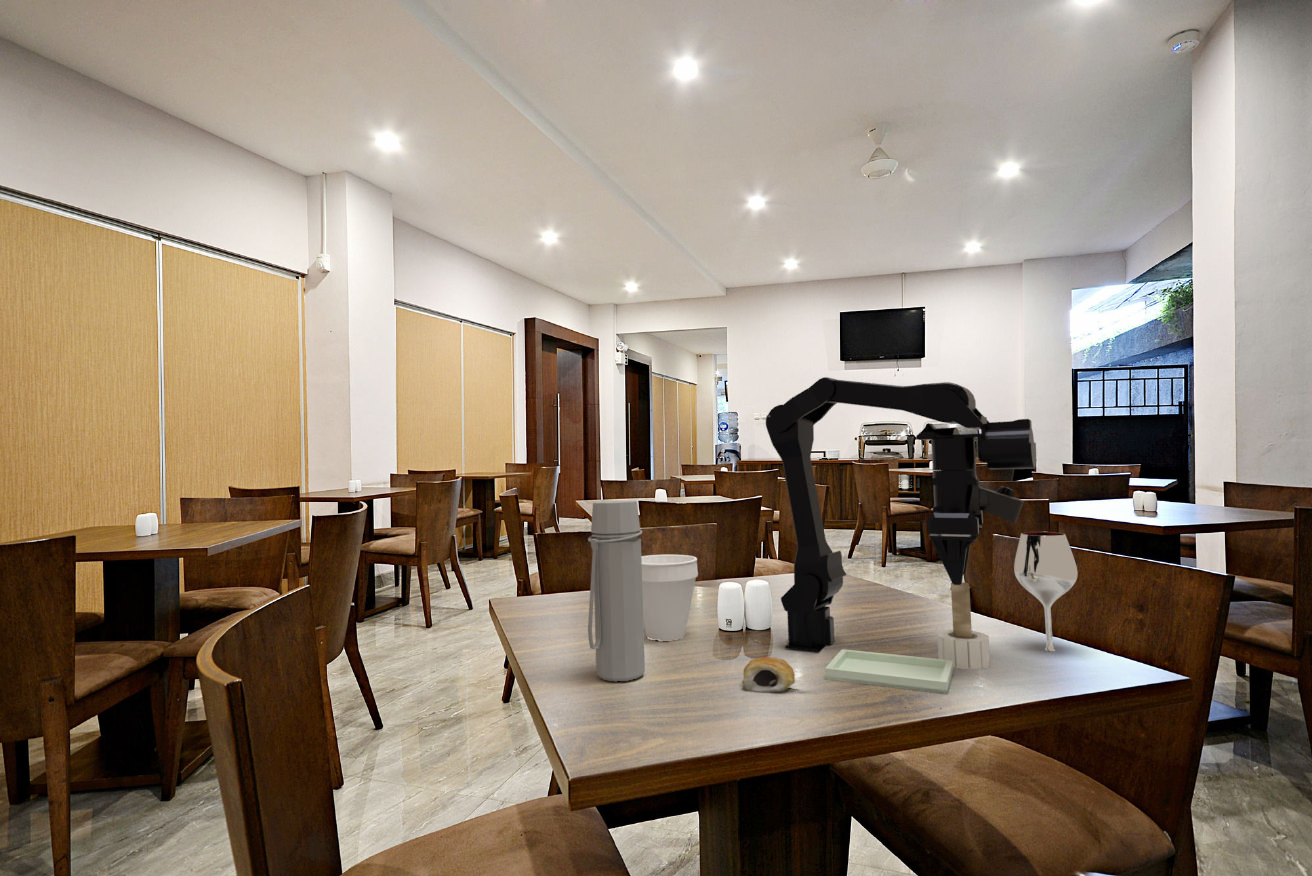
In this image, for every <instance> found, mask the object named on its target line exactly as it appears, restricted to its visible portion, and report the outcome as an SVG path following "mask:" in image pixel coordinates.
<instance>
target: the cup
mask: <svg viewBox="0 0 1312 876" xmlns="http://www.w3.org/2000/svg"><path fill="white" fill-rule="evenodd" d="M641 559H642V591H643V623H644V635H645V637H646V636H647V637H649V638H652V639H660V640H674V639H680V638H682V637H684V636H685V637H686V633H687V632H686V631H687V626H688V622H689V616H690V610H691V606H692V599H693V595H694V589H695V584H696V578H697V577H699V571H698V562H697V561H698V558H697V557H696V556H694V555H687V554H649V555H641ZM685 637H684V638H685ZM680 640H681V639H680Z"/></svg>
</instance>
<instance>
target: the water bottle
mask: <svg viewBox="0 0 1312 876" xmlns="http://www.w3.org/2000/svg"><path fill="white" fill-rule="evenodd" d="M639 516H640V515H639V509H638V501H637V500H610V501H609V500H606V501H596V502H594V501H593V502H592V512H591V524H590V525H591V528H590V530H591V531H590V533H592V534H591V535H590V536H589V537H588V538H587V540H588V542H589V543H590V545H591V547H590V548H591V550H592V557H591V558H592V560H591V573H590V574H591V575H590V590H589V592H590V593H589V606H588V607H589V608H588V622H587V623H588V625H587V635H588V643H589V648H590V649H592V650H595V663H596V664H595V671H596V673H595V674H596V675H597V677H599V678H601V679H602V680H605V681H606V680H607V681H608V682H612V681H614V682H613V683H618V682H617V681H626V682H630V681H629V680H631V681H634V680H633V679H635V680H636V679H638V678H640V677H642V676H643V675H644V673H645V672H646V671H645V670H646V663H645V662H646V661H645V660H646V659H645V657H646V656H645V630H644V623H643V591H642V559H641V556H642V539H641V538H639V536H641V535H642V534H643V530H642V529H641V525H640V518H639ZM593 616H594V617H593ZM593 619H594V634H595V636H594V637H595V639H594V638H593ZM593 639H594V640H595V643H594V640H593ZM607 681H606V682H607Z"/></svg>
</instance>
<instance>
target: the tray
mask: <svg viewBox="0 0 1312 876" xmlns="http://www.w3.org/2000/svg"><path fill="white" fill-rule="evenodd" d="M954 669H955V667H953V660H945V659H938V658H934V657H933V658H932V657H923V656H922V657H921V656H915V655H914V656H913V655H902V654H894V653H882V652H872V651H862V650H855V649H854V650H852V649H843V648H842V649H841V650H840V651H839V652H838V653H837V654H836V655H835V656H834V658H832V659H831V661H830V662H829V663H828V664H827V666H826V667H825V668H824V678H825V679H824V680H827V681H828V680H829V681H836V682H842V683H843V682H844V683H852V684H862V685H868V686H877V687H883V688H884V687H885V688H893V689H901V690H909V691H911V690H912V691H918V692H926V693H927V692H928V693H933V694H935V693H936V694H942V695H948V694H949V691H950V690H949V689H950V686H951V683H952V679H953V676H954V672H955V670H954Z"/></svg>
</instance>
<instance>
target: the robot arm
mask: <svg viewBox="0 0 1312 876" xmlns="http://www.w3.org/2000/svg"><path fill="white" fill-rule="evenodd" d="M836 404H845V405H853V406H864V407H871V408H879V409H887V410H895V411H902V412H903V411H904V412H907V413H910V414H914V415H916V416H920V417H923V418H926V419H930V420H932V421H935V422H941V423H945V424H951V425H956V424H957V425H960V426H961V427H964V428H965V429H972V430H980V433H960V430H959V429H958V427H940V428H939V427H937V428H936V427H935V425H934V424H932V423H926V425H925V427H924V428H923V429H922V430H921V431H920V432H919V433H918V434H916V437H915V438H916V440H918V441H931V459H932V464H931V465H932V477H931V486H933V506H932V513H931V515H930V516H929V517H928V518H927V519H926V534H928V537H929V539H930V540H931V542H932V544H933V546H934V549H935V550H936V553H937V554H938V557H939V558H940V561H941V562H942V564H943V567H944V569H945V571H946V573H947V575H948V577H949V579H950V583H952V584H954V585H961V584H962V582H963V577H964V575H966V573H967V567H968V562H969V554H970V548H971V544H973V543H974V542H975V541H977V539H978V537H979V533H980V531H981V530H982V528H983V523H984V517H983V512H984V513H987V514H990V515H993V516H997V517H998V518H1003V519H1004V521H1007V522H1009V523H1014V524H1016V523H1017V521H1018V518H1019V515H1020V513H1021V510H1022V507H1023V505H1024V500H1023V499H1021V498H1018V497H1015V496H1014V492H1013V489H1012V488H1010V487H1006V486H1003V485H1001V486H1000V487H999V488H998V489H996V490H993V489H989V488H985V487H983V486H981V481H980V478H978V476H977V461H976V459H977V458H976V441H975V440H976V439H977V455H978V459H979V462H980V463H986V465H987V468H988V470H1025V469H1028V470H1029V469H1030V470H1033V469H1036V466H1037V443H1036V442H1035V440H1034V439H1035V437H1034V433H1033V428H1032V427H1033V426H1032V420H1031V419H1029V418H1021V419H1015V420H1011V421H1010V420H1009V421H993V422H991V421H989V420H988V419H987V417H986V416H984V414H982V413H981V411H980V410H979V409H978V408H977V406H976V405H977V404H976V398H975V395H974V394H973V393H972V392H971V390H969V389H968V388H967V387H965V386H962V385H960V384H958V383H954V382H950V381H949V382H945V381H944V382H934V383H933V382H931V383H922V384H915V385H894V384H887V383H886V384H885V383H883V384H882V383H875V382H874V383H873V382H863V381H854V380H846V379H845V380H843V379H836V378H832V377H827V376H825V377H821V378H819V379H817V381H815V382H814V383H813V384H812V385H811V386H809V387H808V388H805V390H803V391H801V392H800V393H798V394H796V395H794V396H792V397H791V398H789V399H788V400H787V401H786V402H785V403H784V404H777V405H776V406H774V407H772V409H770V411H768V413H767V414H768V415H766V416H765V417H766V418H765V427H766V430H767V433H768V436H769V439H770V441H771V445H772V447H773V448H774V450H775V451H776V453H777V454H778V456H779V458H780V459H781V462H782V465H783V466H782V467H783V472H784V477H785V482H786V483H785V484H786V487H787V488H786V489H787V495H788V500H789V504H790V505H789V506H790V511H791V516H792V521H793V527H794V532H795V538H796V543H797V545H796V547H797V548H796V553H795V558H794V564H793V585H792V586H791V587H790V588H789V589H788V590H787V591H786V592H785V593H784V594H783V595H782V596H781V597H780V601H781V605H782V607H783V610H784V611H785V612H787V613H786V614H787V632H788V633H787V637H788V638H787V640H788V642H787V643H786V644H785V646H784V647H785V648H786V649H791V650H802V651H810V652H822V650H824V648H825V647H827V646H832V645H833V644H834V643H835V621H834V619H835V618H834V617H833V616H831V611H830V610H831V608H830V606H828V605H831V604H832V602H833V599H834V596H835V595H837V593H839V592H840V590H841V589H842V588H843V584H844V577H845V576H846V575H847V573H846V572H845V569H844V566H843V554H842V551H841V550H837V551H834V552H833V550H832V549H831V547H830V545H829V544H828V542H827V538H826V535H825V530H824V528H825V527H824V523H823V518H822V512H821V506H820V501H819V496H818V491H817V486H816V480H815V474H814V468H813V465H812V457H811V455H812V450H813V444H814V440H815V439H814V438H815V437H814V435H815V434H814V432H815V431H814V426H815V424H817V423H818V422H819V421H821V420H822V419H823V418H824V417H825V416H826V415H827V414H828V412H829V411H830V410H831V409H832V408H833V407H834V406H835V405H836Z"/></svg>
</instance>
